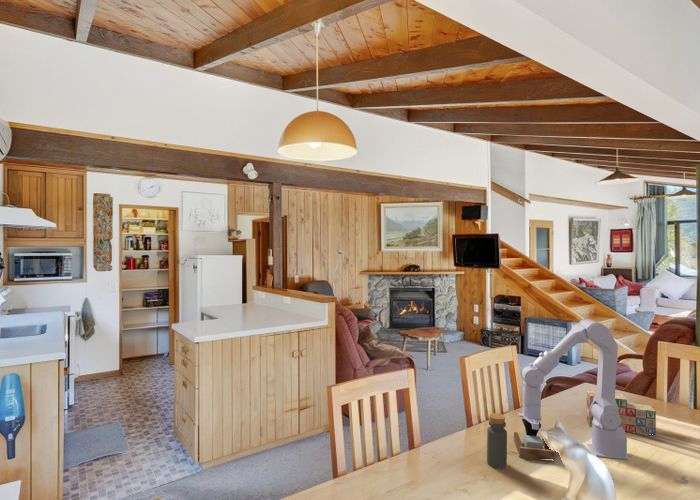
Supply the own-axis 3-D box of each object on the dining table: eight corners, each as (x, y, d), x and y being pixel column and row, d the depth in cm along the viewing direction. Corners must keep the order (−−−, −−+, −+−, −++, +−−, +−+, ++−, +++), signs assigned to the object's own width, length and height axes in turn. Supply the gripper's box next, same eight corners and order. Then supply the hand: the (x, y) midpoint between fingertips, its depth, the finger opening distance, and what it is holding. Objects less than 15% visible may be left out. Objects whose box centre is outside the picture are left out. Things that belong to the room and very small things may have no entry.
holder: (545, 444, 144) (545, 434, 144) (554, 461, 132) (555, 451, 132) (513, 440, 146) (514, 431, 146) (519, 457, 134) (520, 447, 134)
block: (539, 448, 141) (539, 436, 141) (542, 455, 136) (542, 443, 136) (523, 446, 142) (523, 434, 142) (526, 453, 137) (526, 441, 137)
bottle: (497, 470, 126) (497, 421, 126) (482, 461, 131) (483, 414, 131) (510, 466, 129) (511, 417, 129) (496, 457, 134) (496, 411, 134)
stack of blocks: (650, 430, 157) (651, 397, 157) (656, 436, 151) (656, 403, 151) (586, 420, 165) (586, 389, 165) (588, 426, 159) (589, 394, 159)
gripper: (515, 394, 151) (515, 431, 151) (522, 409, 137) (522, 450, 137) (536, 396, 149) (536, 433, 149) (546, 411, 135) (545, 453, 135)
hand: (531, 442), depth 143 cm, fingers closed
